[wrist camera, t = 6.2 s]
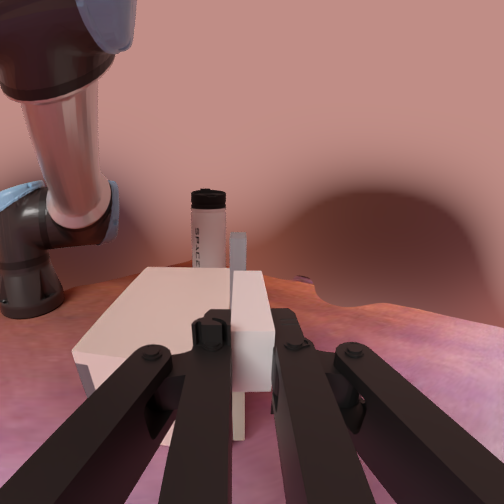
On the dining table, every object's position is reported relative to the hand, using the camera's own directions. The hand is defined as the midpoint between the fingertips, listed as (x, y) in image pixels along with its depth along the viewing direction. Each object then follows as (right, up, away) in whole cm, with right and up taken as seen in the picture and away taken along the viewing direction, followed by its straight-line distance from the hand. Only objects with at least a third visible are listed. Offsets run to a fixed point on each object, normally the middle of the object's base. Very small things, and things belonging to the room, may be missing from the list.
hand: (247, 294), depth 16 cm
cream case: (-8, -12, +16) cm, 22 cm away
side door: (-1, -13, +11) cm, 17 cm away
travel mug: (-8, -6, +41) cm, 42 cm away
